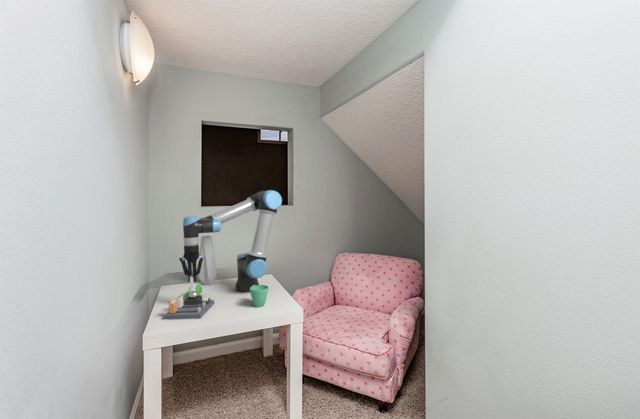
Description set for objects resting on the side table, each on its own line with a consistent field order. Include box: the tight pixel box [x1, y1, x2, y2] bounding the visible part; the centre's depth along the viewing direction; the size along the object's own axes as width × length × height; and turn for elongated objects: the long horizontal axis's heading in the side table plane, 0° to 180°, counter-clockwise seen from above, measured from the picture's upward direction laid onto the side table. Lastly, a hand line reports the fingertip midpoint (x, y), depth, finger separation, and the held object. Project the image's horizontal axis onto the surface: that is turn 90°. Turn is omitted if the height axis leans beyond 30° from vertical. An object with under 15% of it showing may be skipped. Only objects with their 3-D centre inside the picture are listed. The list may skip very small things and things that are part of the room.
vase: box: [198, 235, 218, 286], centre depth 213 cm, size 12×12×33 cm
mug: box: [249, 284, 269, 308], centre depth 170 cm, size 15×10×10 cm
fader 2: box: [174, 295, 184, 308], centre depth 162 cm, size 2×4×5 cm, turn 1°
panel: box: [163, 294, 215, 320], centre depth 162 cm, size 18×21×5 cm
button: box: [189, 291, 198, 299], centre depth 169 cm, size 4×4×4 cm
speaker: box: [184, 282, 203, 300], centre depth 182 cm, size 18×7×8 cm, turn 13°
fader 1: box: [168, 299, 178, 313], centre depth 155 cm, size 2×4×5 cm, turn 1°
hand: (192, 287), depth 168 cm, fingers closed
